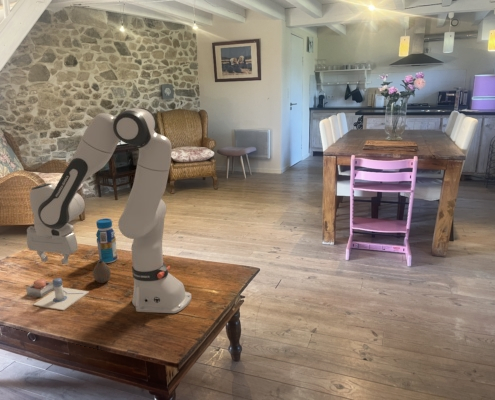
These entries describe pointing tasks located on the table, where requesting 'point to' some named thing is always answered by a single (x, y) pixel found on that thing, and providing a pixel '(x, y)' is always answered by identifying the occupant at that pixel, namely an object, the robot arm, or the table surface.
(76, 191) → the robot arm
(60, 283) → the dome-topped peg
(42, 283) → the button
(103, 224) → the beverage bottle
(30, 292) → the button housing
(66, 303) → the drawing pad
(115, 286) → the table surface
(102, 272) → the vase
